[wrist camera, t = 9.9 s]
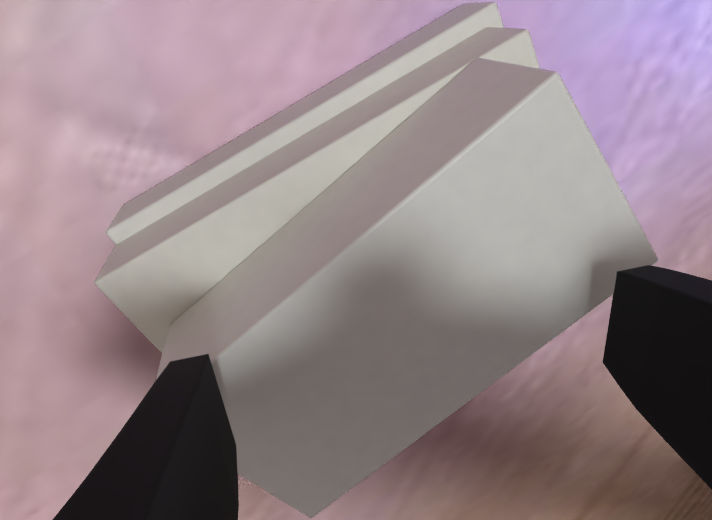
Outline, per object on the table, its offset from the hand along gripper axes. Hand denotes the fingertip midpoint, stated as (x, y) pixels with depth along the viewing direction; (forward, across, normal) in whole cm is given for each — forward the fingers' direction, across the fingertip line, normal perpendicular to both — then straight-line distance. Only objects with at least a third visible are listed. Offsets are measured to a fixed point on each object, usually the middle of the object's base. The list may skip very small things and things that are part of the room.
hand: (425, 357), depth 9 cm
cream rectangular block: (+4, 0, 0) cm, 4 cm away
